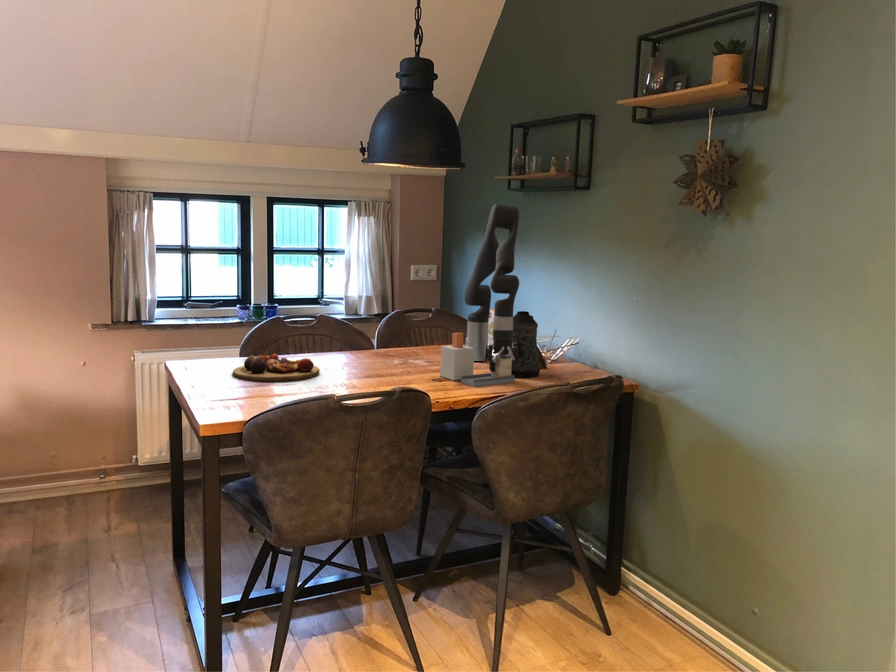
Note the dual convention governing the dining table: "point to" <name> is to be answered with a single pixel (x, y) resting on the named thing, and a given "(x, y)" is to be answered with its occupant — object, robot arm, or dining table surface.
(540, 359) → the rock
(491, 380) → the rail
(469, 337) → the robot arm
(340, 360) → the dining table surface
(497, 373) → the carriage
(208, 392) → the dining table surface
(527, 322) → the beer stein
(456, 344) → the orange dimpled block
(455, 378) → the light grey hollow box
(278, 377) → the wooden plate with food
